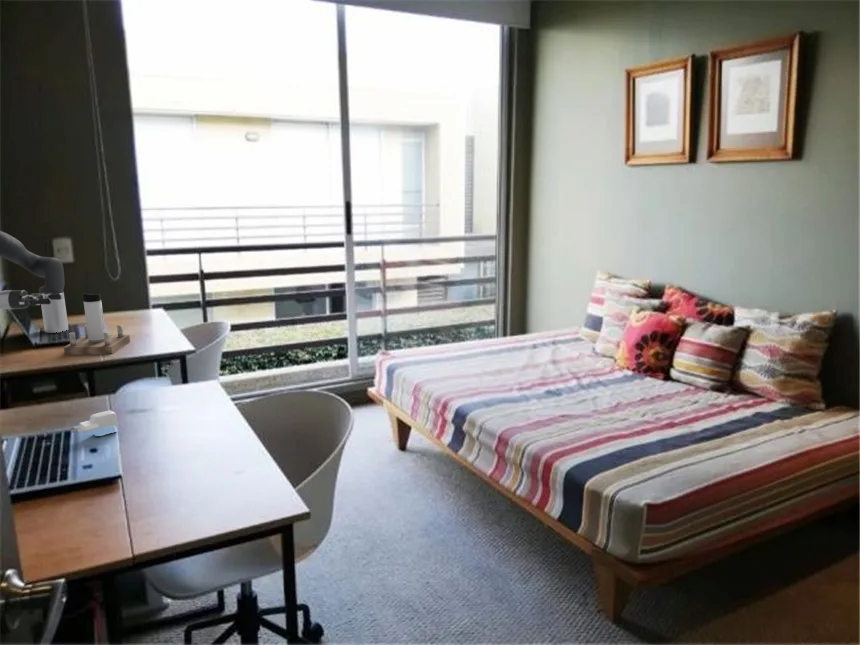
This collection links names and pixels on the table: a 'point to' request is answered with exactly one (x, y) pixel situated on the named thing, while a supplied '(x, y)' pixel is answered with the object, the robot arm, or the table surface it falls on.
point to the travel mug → (94, 317)
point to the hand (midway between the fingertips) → (55, 298)
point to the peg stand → (107, 346)
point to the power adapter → (97, 422)
